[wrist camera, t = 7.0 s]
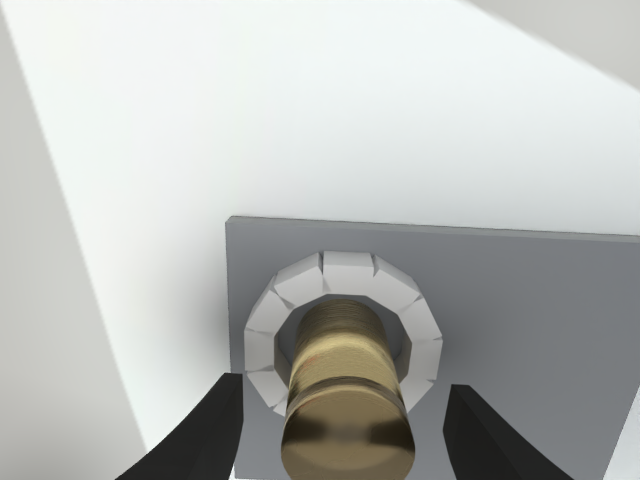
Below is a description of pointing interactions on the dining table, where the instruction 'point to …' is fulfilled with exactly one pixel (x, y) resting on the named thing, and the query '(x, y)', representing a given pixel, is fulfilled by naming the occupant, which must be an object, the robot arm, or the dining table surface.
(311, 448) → the brass shaft
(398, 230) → the housing plate
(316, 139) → the dining table surface
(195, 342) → the dining table surface
